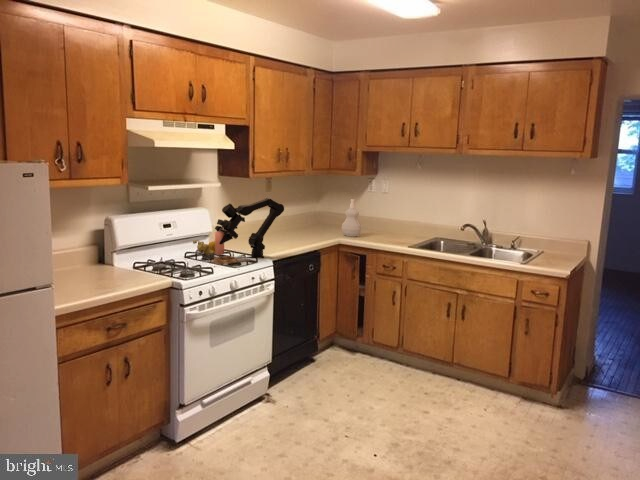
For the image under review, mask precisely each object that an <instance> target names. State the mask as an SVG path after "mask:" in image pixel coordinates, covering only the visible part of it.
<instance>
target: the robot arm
mask: <svg viewBox="0 0 640 480" xmlns="http://www.w3.org/2000/svg"><path fill="white" fill-rule="evenodd" d="M265 207H268V208H269V212H268V215H267V216H266V218H265V220H264V221H263V222H262V224H261V225H260V227H259V229H258V230H257V231H256V232H255V233H254V232H252V233H251V234H250V236H249V237H248V245H249V246H250V248H251V251H250V252H251V256H250V257H251V258H263V257H264V250H265V248H266V246H265V244H264V243H263V242H264V237H265V235H266V233H267V232H268V230H269V229H270V227H271V226H272V224H273V223H274V221H275V220H276V219H277V218H278V217H279V216H281V215H282V214H283V212H284V211H285V205H283V204H282V203H278V202H276V201H275V200H273V199H272V198H268V197H267V198H264V199H261V200H258V201H255V202H253V203H249V204H242V205H238V206H237V207H234V206H233V204H232V203H228V204H227V205H224V206H223V208H222V209H221V212H222V213H223V214H224V215H225V216H226V217H227V218H229V220H228V219H224V220H223V219H218V220H217V221H216V226H214V230H216V232H218V231H222V232H224V236H223V238H222V240H221V241H220V243H219V244H223V243H224V244H225V243H226V242H229V241H232V240H233V239H235V240H237V239H238V237H239V234H238V233H237V232H236V231H235V230H237V229H238V226H239V225H240V223H241V222H242V223H245V222H246V218H245V217H246V216H249V215H250V214H252V213H253V212H254V211H257V210H260V209H262V208H265ZM243 216H245V217H243Z"/></svg>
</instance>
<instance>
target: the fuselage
mask: <svg viewBox="0 0 640 480" xmlns="http://www.w3.org/2000/svg"><path fill="white" fill-rule="evenodd" d="M223 236H224V232H222V231H218V232H217V231H215V232H214V241H215V255H217V256H223V255H225V243H223V244H219V243H220V241H221V240H222V238H223Z"/></svg>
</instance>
